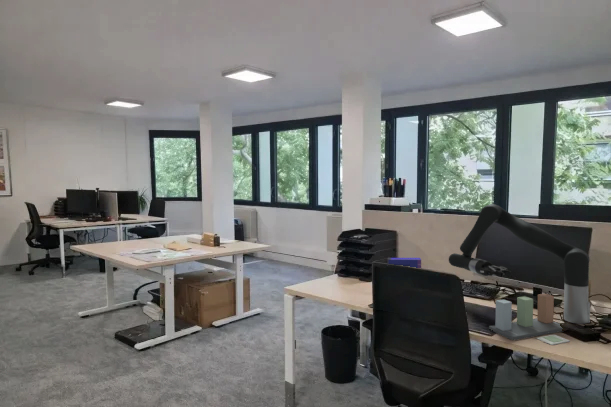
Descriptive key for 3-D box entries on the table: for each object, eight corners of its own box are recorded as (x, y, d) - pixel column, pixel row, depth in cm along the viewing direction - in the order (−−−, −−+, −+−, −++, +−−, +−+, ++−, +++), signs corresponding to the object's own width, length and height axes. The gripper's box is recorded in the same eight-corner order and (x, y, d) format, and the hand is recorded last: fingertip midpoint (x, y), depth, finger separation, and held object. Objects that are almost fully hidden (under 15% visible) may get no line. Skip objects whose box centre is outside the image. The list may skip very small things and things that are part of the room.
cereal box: (419, 300, 220) (419, 257, 219) (421, 302, 215) (421, 259, 214) (387, 299, 222) (387, 257, 220) (388, 302, 217) (388, 259, 216)
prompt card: (554, 335, 168) (554, 333, 168) (570, 341, 162) (570, 340, 162) (536, 338, 165) (536, 337, 165) (551, 345, 159) (551, 343, 159)
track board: (542, 320, 186) (542, 317, 186) (568, 330, 174) (568, 326, 173) (489, 329, 176) (489, 326, 176) (512, 340, 164) (512, 336, 164)
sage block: (524, 322, 180) (524, 296, 179) (532, 325, 175) (533, 299, 175) (516, 323, 178) (517, 297, 177) (525, 327, 174) (525, 300, 173)
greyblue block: (503, 325, 176) (503, 299, 175) (511, 329, 172) (511, 302, 171) (495, 327, 174) (495, 300, 174) (503, 330, 170) (503, 303, 170)
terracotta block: (544, 318, 183) (545, 293, 182) (553, 322, 179) (553, 296, 178) (537, 320, 182) (537, 294, 181) (545, 323, 178) (546, 297, 177)
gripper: (469, 260, 199) (495, 267, 183) (491, 258, 203) (519, 265, 187) (468, 275, 199) (494, 283, 183) (491, 272, 204) (519, 280, 188)
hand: (507, 274), depth 185 cm, fingers open, 4 cm apart
